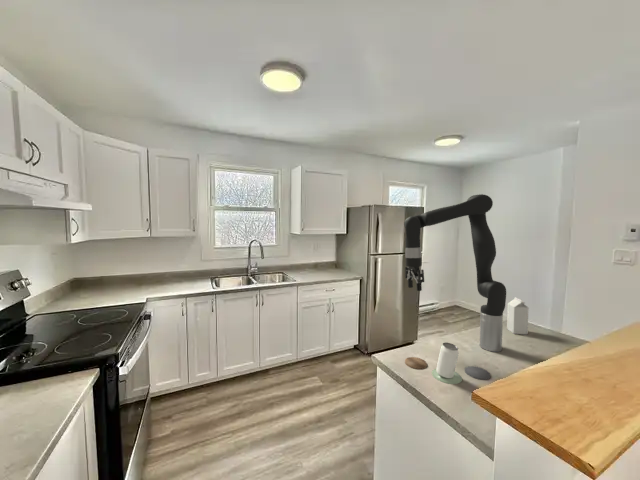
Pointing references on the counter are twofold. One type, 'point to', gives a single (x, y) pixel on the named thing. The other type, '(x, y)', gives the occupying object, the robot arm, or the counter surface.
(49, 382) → the counter surface
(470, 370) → the charcoal coaster
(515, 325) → the milk carton
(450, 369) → the can
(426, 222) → the robot arm
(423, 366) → the walnut coaster
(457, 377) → the sage coaster
